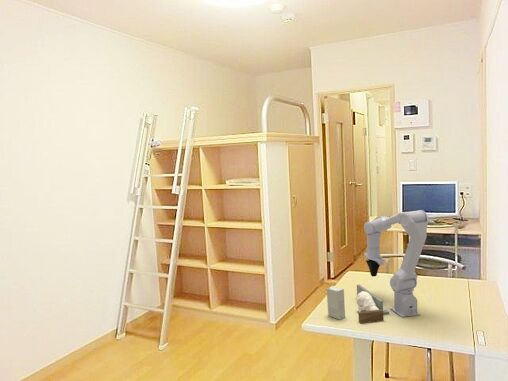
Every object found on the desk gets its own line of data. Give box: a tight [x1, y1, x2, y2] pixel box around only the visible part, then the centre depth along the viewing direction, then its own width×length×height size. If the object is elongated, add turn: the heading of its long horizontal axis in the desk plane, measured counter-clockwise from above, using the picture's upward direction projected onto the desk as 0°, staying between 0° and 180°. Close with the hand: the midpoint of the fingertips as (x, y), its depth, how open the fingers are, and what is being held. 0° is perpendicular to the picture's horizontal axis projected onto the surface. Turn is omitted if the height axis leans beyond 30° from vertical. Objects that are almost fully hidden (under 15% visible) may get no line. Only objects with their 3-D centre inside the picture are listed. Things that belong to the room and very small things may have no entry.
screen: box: [356, 284, 390, 316], centre depth 176 cm, size 22×4×6 cm, turn 11°
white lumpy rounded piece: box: [355, 291, 379, 312], centre depth 167 cm, size 6×8×12 cm
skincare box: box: [326, 285, 346, 320], centre depth 165 cm, size 6×4×12 cm
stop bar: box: [358, 309, 384, 324], centre depth 160 cm, size 2×10×4 cm, turn 101°
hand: (373, 275), depth 184 cm, fingers closed
